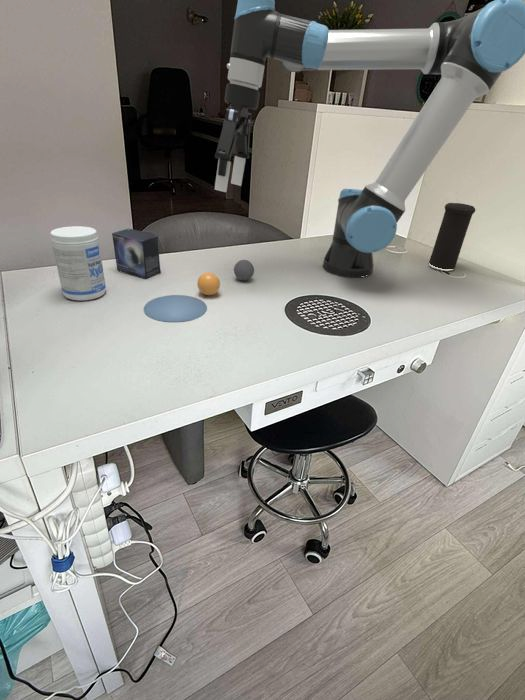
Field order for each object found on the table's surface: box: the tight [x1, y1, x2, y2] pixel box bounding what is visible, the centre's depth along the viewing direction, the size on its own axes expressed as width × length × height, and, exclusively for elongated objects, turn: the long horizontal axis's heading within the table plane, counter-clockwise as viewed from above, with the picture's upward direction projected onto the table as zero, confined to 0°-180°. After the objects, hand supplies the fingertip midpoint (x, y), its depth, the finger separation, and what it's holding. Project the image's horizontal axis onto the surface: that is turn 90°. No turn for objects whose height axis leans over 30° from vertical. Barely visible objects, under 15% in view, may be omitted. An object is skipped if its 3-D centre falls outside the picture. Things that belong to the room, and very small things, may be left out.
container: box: [428, 202, 476, 270], centre depth 122 cm, size 9×9×20 cm
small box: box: [111, 228, 162, 280], centre depth 104 cm, size 11×6×10 cm, turn 62°
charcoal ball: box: [233, 259, 255, 282], centre depth 105 cm, size 6×6×6 cm
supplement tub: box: [50, 225, 107, 301], centre depth 88 cm, size 10×10×15 cm
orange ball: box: [196, 272, 221, 296], centre depth 95 cm, size 6×6×6 cm
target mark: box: [143, 294, 208, 323], centre depth 89 cm, size 14×14×1 cm
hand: (228, 187), depth 96 cm, fingers open, 13 cm apart
